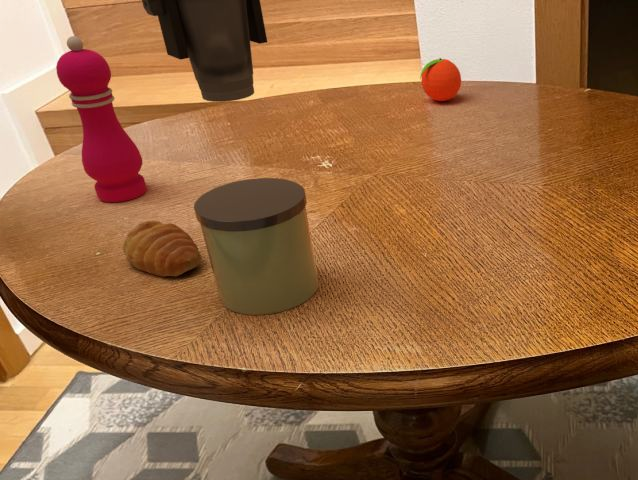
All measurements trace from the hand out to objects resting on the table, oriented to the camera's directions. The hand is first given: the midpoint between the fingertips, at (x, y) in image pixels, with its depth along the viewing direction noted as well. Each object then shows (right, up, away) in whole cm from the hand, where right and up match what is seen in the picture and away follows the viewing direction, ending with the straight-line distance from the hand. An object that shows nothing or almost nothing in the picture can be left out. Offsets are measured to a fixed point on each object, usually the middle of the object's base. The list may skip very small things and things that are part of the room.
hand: (218, 47), depth 63 cm
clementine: (+17, +17, +66) cm, 70 cm away
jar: (+1, -20, +13) cm, 23 cm away
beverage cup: (0, -3, +2) cm, 4 cm away
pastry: (-12, -16, +19) cm, 28 cm away
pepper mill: (-25, -5, +36) cm, 44 cm away
